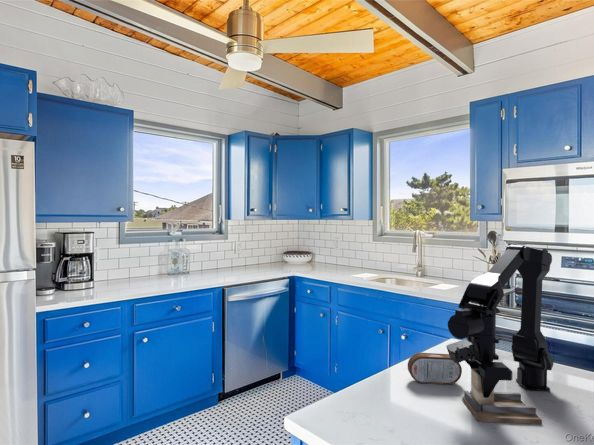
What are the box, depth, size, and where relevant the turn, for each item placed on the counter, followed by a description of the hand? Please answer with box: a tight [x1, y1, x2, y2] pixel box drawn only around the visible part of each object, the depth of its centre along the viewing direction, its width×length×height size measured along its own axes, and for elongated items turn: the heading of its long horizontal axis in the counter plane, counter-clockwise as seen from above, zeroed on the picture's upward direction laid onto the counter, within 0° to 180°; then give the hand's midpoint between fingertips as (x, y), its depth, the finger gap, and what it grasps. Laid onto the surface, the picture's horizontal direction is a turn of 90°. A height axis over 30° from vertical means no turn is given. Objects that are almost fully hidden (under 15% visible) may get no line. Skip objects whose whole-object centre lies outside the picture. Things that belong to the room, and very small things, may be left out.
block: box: [470, 368, 495, 406], centre depth 98 cm, size 4×4×8 cm
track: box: [461, 390, 543, 425], centre depth 96 cm, size 14×10×2 cm
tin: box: [407, 352, 463, 385], centre depth 113 cm, size 15×3×8 cm, turn 84°
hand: (482, 393), depth 98 cm, fingers closed on block, 4 cm apart
